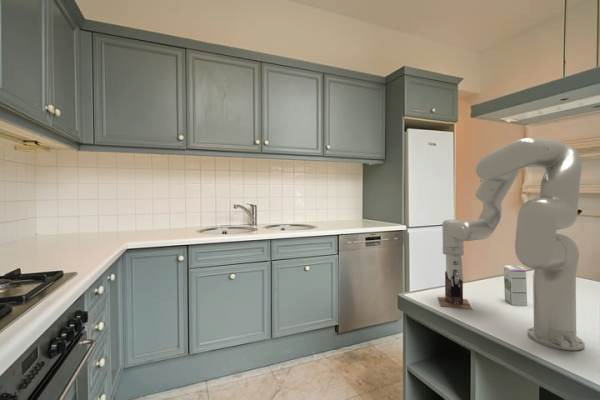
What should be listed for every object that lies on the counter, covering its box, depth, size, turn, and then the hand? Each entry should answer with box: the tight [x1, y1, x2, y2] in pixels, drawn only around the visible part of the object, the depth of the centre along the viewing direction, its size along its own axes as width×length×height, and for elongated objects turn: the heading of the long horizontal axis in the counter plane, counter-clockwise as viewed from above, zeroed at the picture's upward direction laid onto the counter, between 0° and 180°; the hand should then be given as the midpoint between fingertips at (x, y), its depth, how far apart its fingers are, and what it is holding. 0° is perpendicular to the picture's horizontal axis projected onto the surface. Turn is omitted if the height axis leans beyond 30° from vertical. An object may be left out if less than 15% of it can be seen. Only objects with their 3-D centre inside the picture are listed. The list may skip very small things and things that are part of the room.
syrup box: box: [503, 264, 528, 306], centre depth 116 cm, size 6×6×14 cm
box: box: [444, 270, 464, 305], centre depth 117 cm, size 6×4×12 cm
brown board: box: [437, 296, 473, 310], centre depth 117 cm, size 11×11×1 cm
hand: (453, 292), depth 117 cm, fingers open, 9 cm apart
